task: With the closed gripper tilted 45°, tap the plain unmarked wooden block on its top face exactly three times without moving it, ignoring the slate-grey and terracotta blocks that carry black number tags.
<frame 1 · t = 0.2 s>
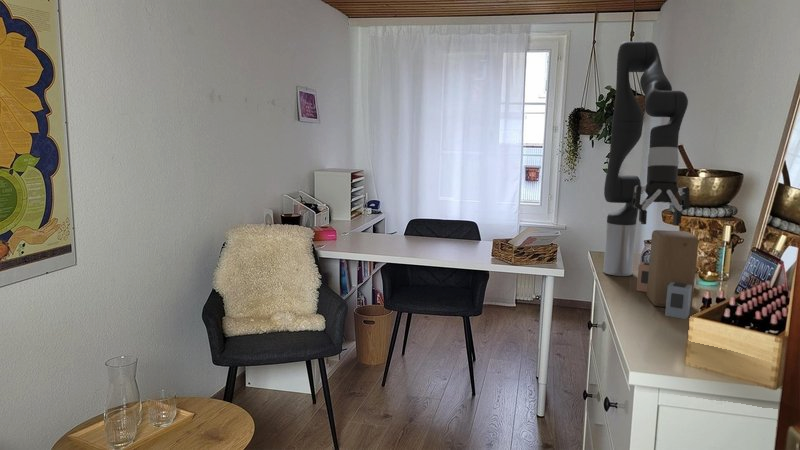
hand: (659, 224, 156), 23 cm above the table, tool pointing down, fingers open, 8 cm apart
wooden block: (668, 303, 162), on the table
slate tagged block: (677, 315, 151), on the table
terracotta tagged block: (647, 290, 175), on the table
duck figurine: (682, 287, 179), on the table
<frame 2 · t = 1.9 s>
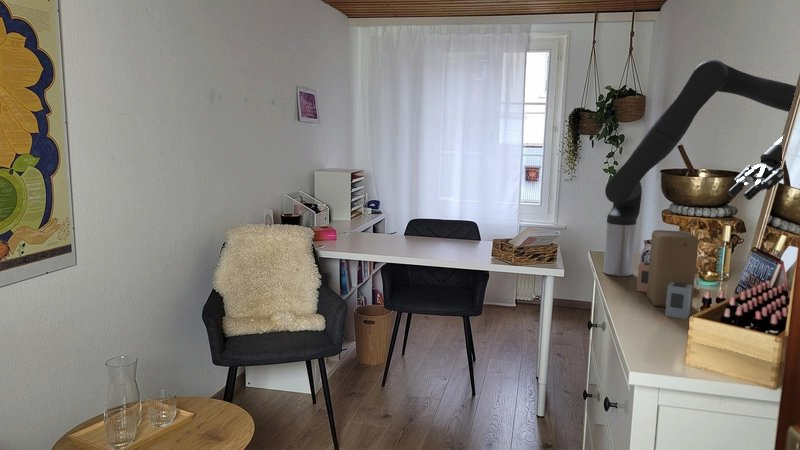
hand: (738, 196, 157), 30 cm above the table, tool tilted 45°, fingers open, 6 cm apart
nothing on the table moved.
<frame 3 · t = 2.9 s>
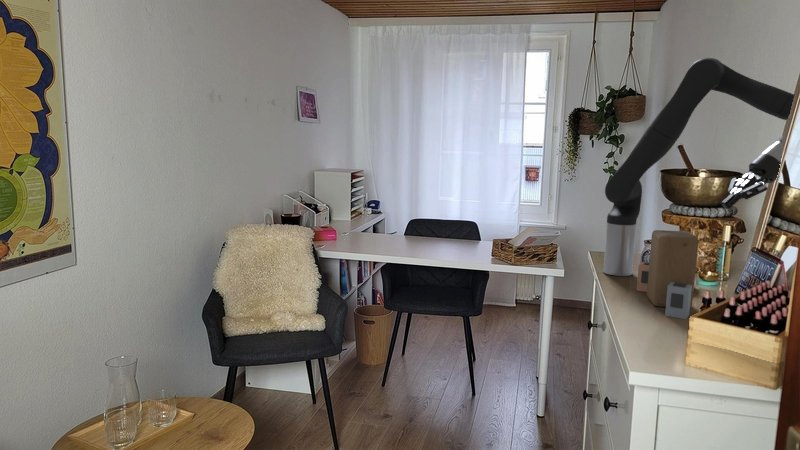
hand: (724, 206, 158), 28 cm above the table, tool tilted 45°, fingers closed
nothing on the table moved.
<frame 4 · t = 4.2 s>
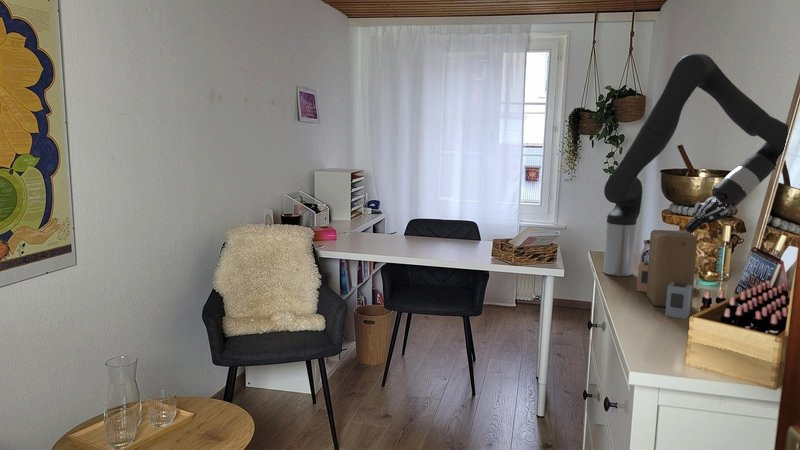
hand: (687, 230, 159), 21 cm above the table, tool tilted 45°, fingers closed
wooden block: (668, 303, 162), on the table, touching gripper
everything else where it was.
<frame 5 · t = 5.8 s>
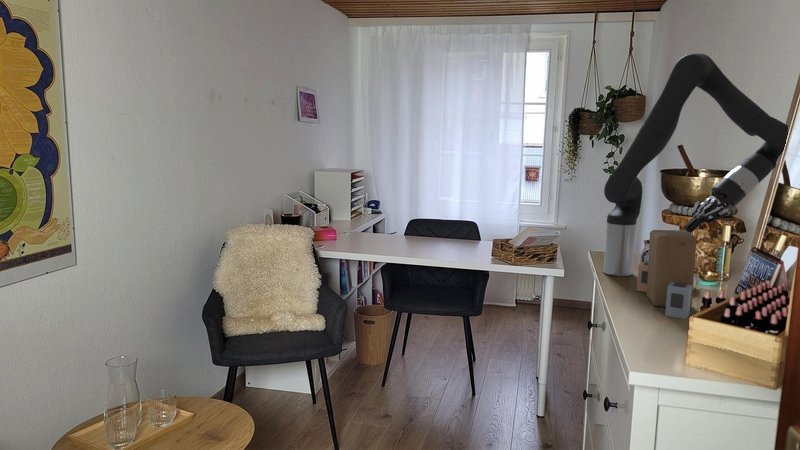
hand: (687, 230, 159), 21 cm above the table, tool tilted 45°, fingers closed
nothing on the table moved.
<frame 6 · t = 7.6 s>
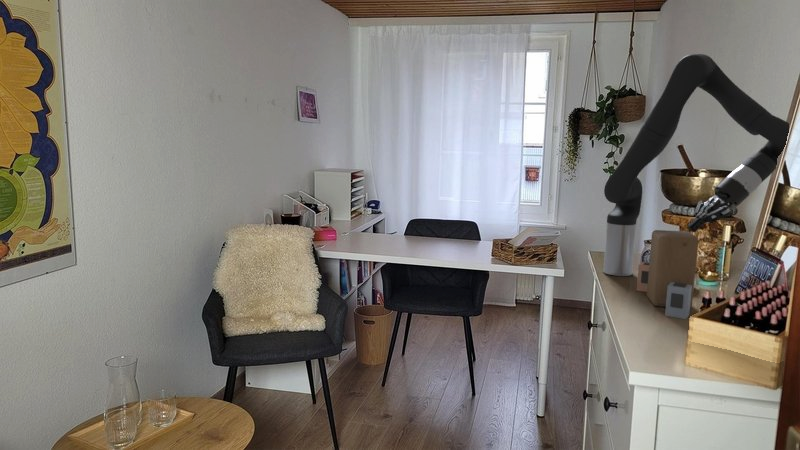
hand: (690, 229, 158), 21 cm above the table, tool tilted 45°, fingers closed
wooden block: (668, 303, 162), on the table
everything else where it was.
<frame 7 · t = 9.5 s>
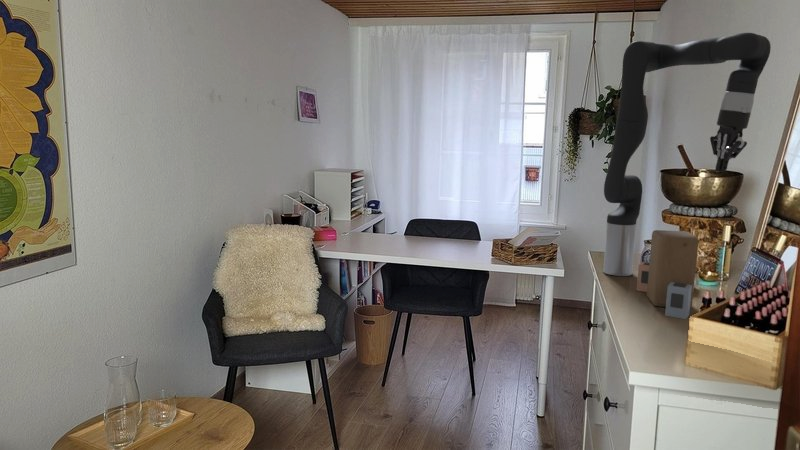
hand: (720, 172, 162), 37 cm above the table, tool pointing down, fingers closed
nothing on the table moved.
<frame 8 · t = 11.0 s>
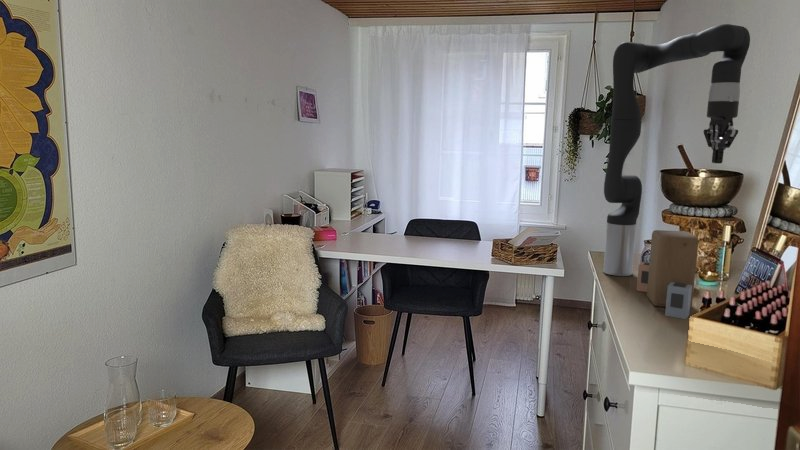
hand: (717, 163, 162), 39 cm above the table, tool pointing down, fingers closed
nothing on the table moved.
at the end: wooden block moved 0.2 cm from its start; wooden block tilted 0°; slate tagged block moved 0.1 cm from its start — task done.
